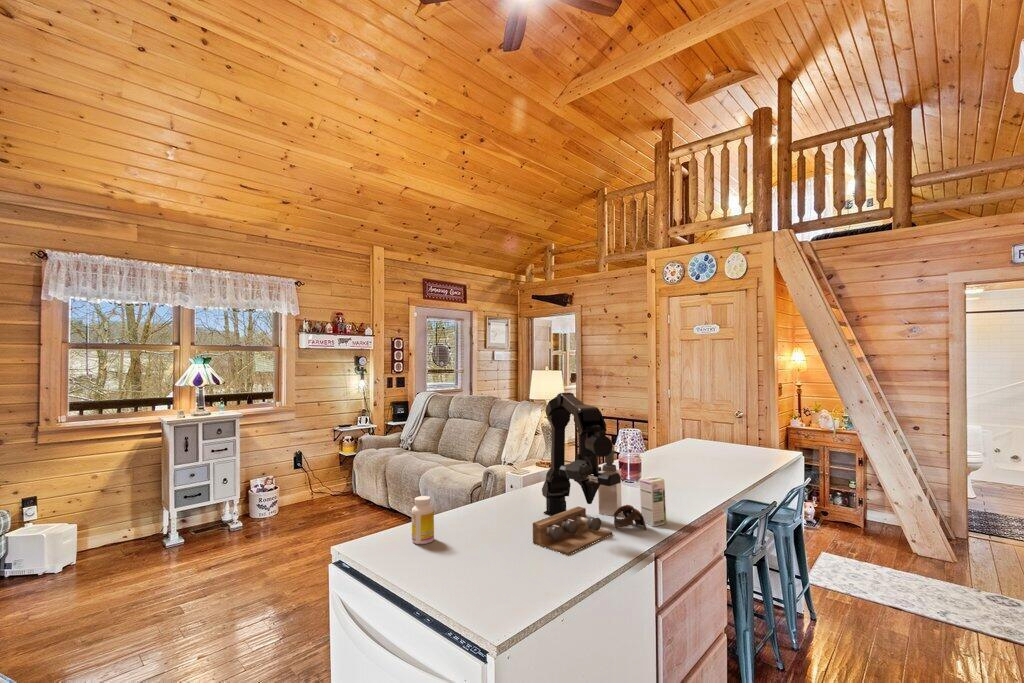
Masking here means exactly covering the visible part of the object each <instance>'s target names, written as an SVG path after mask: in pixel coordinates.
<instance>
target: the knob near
mask: <svg viewBox="0 0 1024 683" xmlns="http://www.w3.org/2000/svg"><path fill="white" fill-rule="evenodd" d="M546 533H548V534H549V536H550V538H552V539H555V540H561V539H562V537H563V533H564V531H563V528H562V527H560V526H556V525H552V526H551V527H547V526H546Z"/></svg>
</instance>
